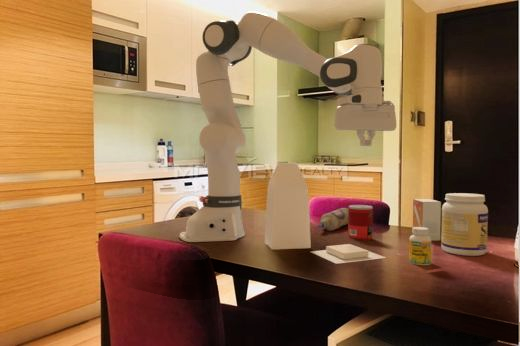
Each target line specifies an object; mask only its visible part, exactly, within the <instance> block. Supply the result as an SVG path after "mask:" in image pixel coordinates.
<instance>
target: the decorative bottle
mask: <svg viewBox="0 0 520 346" xmlns="http://www.w3.org/2000/svg"><path fill="white" fill-rule="evenodd" d="M346 225H348V207H347V208H346V207H341V208H339V209H336V210H332V211H330V212H327V213H325V214H323V215H322V216H321V217H320V221H319V222H318V224H317V228H319V229H324V230H325V231H335V230H337V229H339V228H342V227H344V226H346Z"/></svg>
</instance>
